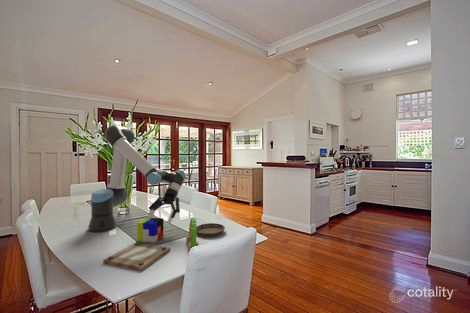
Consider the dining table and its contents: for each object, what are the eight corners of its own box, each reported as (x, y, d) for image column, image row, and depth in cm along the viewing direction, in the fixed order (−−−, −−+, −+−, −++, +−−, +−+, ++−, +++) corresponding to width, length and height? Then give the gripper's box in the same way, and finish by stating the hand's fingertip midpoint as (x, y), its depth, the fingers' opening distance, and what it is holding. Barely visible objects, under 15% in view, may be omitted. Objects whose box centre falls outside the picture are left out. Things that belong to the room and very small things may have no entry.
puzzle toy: (154, 242, 122) (154, 223, 122) (137, 241, 124) (137, 222, 124) (163, 235, 132) (163, 218, 132) (147, 234, 134) (147, 217, 134)
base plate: (103, 263, 99) (103, 258, 99) (136, 245, 118) (136, 241, 118) (141, 271, 93) (141, 266, 93) (170, 250, 112) (170, 246, 112)
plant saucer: (199, 240, 127) (199, 234, 127) (192, 229, 143) (192, 225, 143) (229, 235, 134) (229, 230, 134) (219, 226, 150) (219, 221, 150)
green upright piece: (185, 241, 124) (186, 213, 124) (196, 240, 126) (196, 212, 125) (188, 254, 109) (188, 222, 109) (200, 252, 111) (200, 221, 110)
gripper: (192, 195, 146) (180, 226, 132) (158, 193, 153) (143, 222, 139) (187, 188, 141) (174, 220, 127) (153, 186, 148) (137, 216, 134)
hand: (158, 221), depth 133 cm, fingers open, 13 cm apart
